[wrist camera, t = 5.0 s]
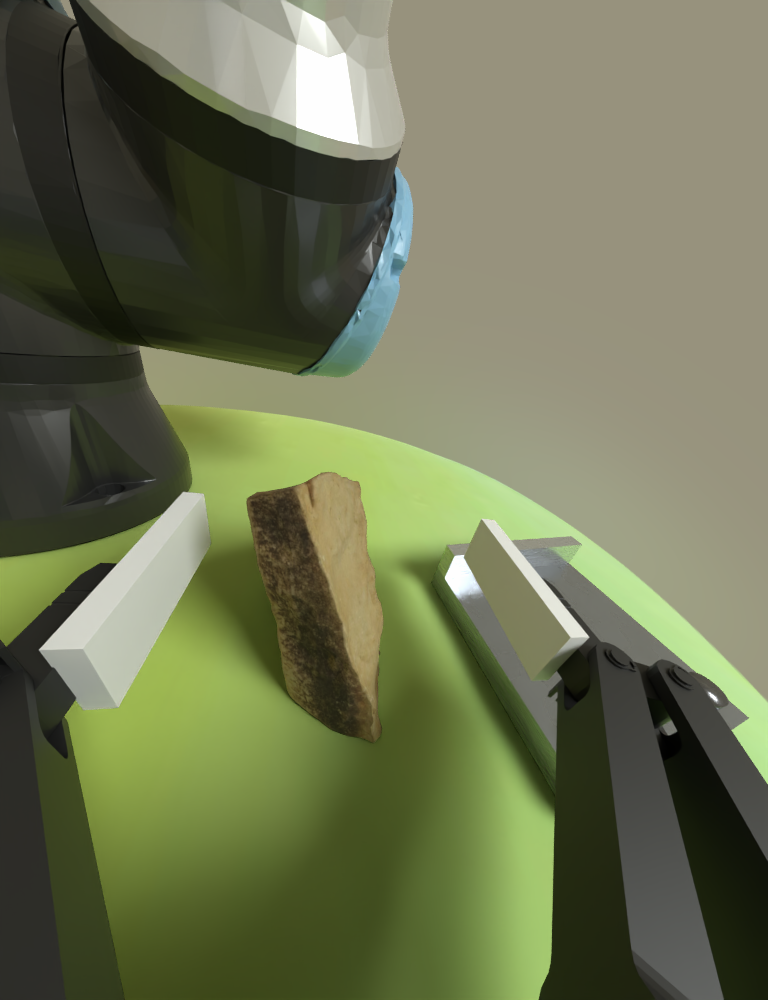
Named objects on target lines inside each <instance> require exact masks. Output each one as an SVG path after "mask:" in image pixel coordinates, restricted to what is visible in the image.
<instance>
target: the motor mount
mask: <svg viewBox="0 0 768 1000" xmlns="http://www.w3.org/2000/svg"><path fill="white" fill-rule="evenodd" d="M512 542H513V544H514V545H515V546H516V547H517V549H518V550H519V551H520V552H521V554H522V555H523V556H524V557H525V558H526V560H527V561H528V562H529V563H530V565H531V566H532V567H533V568H534V570H535V571H536V572H537V573H538V575H539V576H540V577H541V578H544V579H546V580H547V581H548V582H549V583H551V584H552V585H553V586H554V587H555V588H556V589H557V590H558V591H559V592H560V594H561V595H562V596H563V597H564V600H566V601H567V602H568V603H569V604H570V605H571V608H573V609H574V610H575V611H576V613H577V614H578V615H579V616H580V617H581V619H582V620H583V621H584V622H585V623H586V625H587V626H588V627H589V628H590V629H591V631H592V632H593V633H594V634H595V635H596V637H597V638H598V639H599V640H600V641H601V642H607V643H610V644H612V645H615V646H616V647H618V648H619V649H621V650H622V651H624V652H625V653H626V654H627V655H628V656H629V657H630V658H631V659H632V660H633V661H634V662H637V663H641V664H644V665H647V666H652V665H653V664H654V663H655V662H657V661H658V660H661V659H663V660H668V661H670V662H672V663H675V664H677V665H678V666H680V667H682V668H683V669H685V670H686V671H687V672H688V673H689V674H690V675H691V676H693V677H694V678H695V679H696V680H697V682H698V683H699V684H700V685H701V686H702V688H703V689H704V691H705V692H706V694H707V695H708V697H709V698H710V700H711V701H712V703H713V704H714V706H715V707H716V708H717V710H718V711H719V713H720V714H721V716H722V717H723V719H724V720H725V722H726V723H727V725H728V726H729V728H730V729H731V730H732V729H734V728H735V727H737V726H738V725H740V724H741V723H742V722H744V721H745V720H747V719H748V717H747V716H746V715H745V714H744V713H743V712H741V711H740V710H739V709H738V708H737V707H736V706H734V705H733V704H732V703H731V702H730V701H729V700H728V699H727V697H726V695H725V694H724V693H723V692H722V690H721V689H720V688H719V687H718V686H716V685H715V684H714V683H713V682H712V681H710V680H709V679H707V678H706V677H704V676H702V675H700V674H698V673H696V672H695V671H694V670H692V669H691V668H690V667H689V666H688V665H687V664H685V663H684V662H683V661H682V660H681V659H680V658H678V657H677V656H676V655H675V654H674V653H673V652H671V651H670V650H669V649H668V648H667V647H666V646H664V645H663V644H662V643H661V642H660V641H659V640H657V639H656V638H655V637H654V636H653V635H652V634H650V633H649V632H648V631H647V630H646V629H645V628H643V627H642V626H641V625H640V624H639V623H638V622H636V621H635V620H634V619H633V618H632V617H631V616H629V615H628V614H627V613H626V612H625V611H624V610H622V609H621V608H620V607H619V606H618V605H617V604H615V603H614V602H613V601H612V600H611V599H610V598H608V597H607V596H606V595H605V594H604V593H603V592H601V591H600V590H599V589H598V588H597V587H596V586H595V585H593V584H592V583H591V582H590V581H589V580H588V579H586V578H585V577H584V576H583V575H582V574H581V573H579V572H578V571H577V570H576V569H575V568H574V567H572V566H571V565H570V564H569V562H570V560H571V559H572V558H573V556H574V555H575V554H576V552H577V551H578V549H579V548H580V547H581V545H582V544H581V543H579V542H578V541H577V540H575V539H574V538H573V537H571V536H570V537H556V538H541V539H527V540H513V541H512ZM469 545H470V544H456V545H447V546H446V549H445V551H444V553H443V556H442V558H441V561H440V563H439V565H438V568H437V570H436V573H435V575H434V577H433V580H432V582H431V583H432V584H433V586H434V588H435V589H436V591H437V593H438V595H439V596H440V598H441V600H442V601H443V603H444V605H445V607H446V608H447V610H448V612H449V614H450V615H451V617H452V619H453V620H454V622H455V624H456V626H457V627H458V629H459V631H460V632H461V634H462V636H463V638H464V639H465V641H466V643H467V645H468V646H469V648H470V650H471V651H472V653H473V655H474V657H475V658H476V660H477V662H478V664H479V665H480V667H481V669H482V670H483V672H484V674H485V676H486V677H487V679H488V681H489V682H490V684H491V686H492V688H493V689H494V691H495V693H496V695H497V696H498V698H499V700H500V701H501V703H502V705H503V707H504V708H505V710H506V712H507V713H508V715H509V717H510V719H511V720H512V722H513V724H514V726H515V727H516V729H517V731H518V732H519V734H520V736H521V738H522V739H523V741H524V743H525V745H526V746H527V748H528V750H529V751H530V753H531V755H532V757H533V758H534V760H535V762H536V763H537V765H538V767H539V769H540V770H541V772H542V774H543V776H544V777H545V779H546V781H547V782H548V784H549V786H550V788H551V789H552V791H553V793H554V795H555V782H556V739H557V702H556V701H555V700H556V699H557V695H558V692H556V693H555V694H554V695H553V696H552V697H551V698H550V697H548V693H549V691H550V690H551V689H552V688H553V687H554V686H555V685H556V684H557V683H558V682H559V681H560V680H561V679H562V678H561V677H560V675H559V674H558V672H557V671H556V672H555V673H554V675H553V676H552V677H551V678H550V679H549V680H539V681H531V679H530V677H529V676H528V674H527V672H526V670H525V668H524V667H523V665H522V663H521V661H520V659H519V657H518V656H517V654H516V652H515V650H514V648H513V647H512V645H511V643H510V641H509V639H508V637H507V636H506V634H505V632H504V630H503V628H502V626H501V625H500V623H499V621H498V619H497V617H496V616H495V614H494V612H493V610H492V608H491V606H490V605H489V603H488V601H487V599H486V597H485V596H484V594H483V592H482V590H481V588H480V586H479V585H478V583H477V581H476V579H475V577H474V576H473V574H472V572H471V570H470V568H469V566H468V565H467V563H466V561H465V559H464V555H465V553H466V551H467V549H468V547H469ZM663 728H664V730H665V731H666V733H667V734H668V735H672V734H673V733H675V732H677V730H676V728H675V726H674V724H673V722H672V720H671V721H670V722H668V723H666V724H665V725H663Z"/></svg>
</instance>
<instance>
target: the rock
mask: <svg viewBox="0 0 768 1000" xmlns="http://www.w3.org/2000/svg"><path fill="white" fill-rule="evenodd" d="M247 510H248V516H249V520H250V523H251V530H252V535H253V540H254V548H255V551H256V555H257V563H258V567H259V571H260V573H261V576H262V580H263V584H264V586H265V590H266V594H267V596H268V598H269V601H270V603H271V610H272V613H273V615H274V617H275V620H276V623H277V637H278V644H279V648H280V652H281V663H282V670H283V674H284V678H285V682H286V687H287V692H288V693H289V695H290V697H291V698H292V699H293V700H294V701H296V702H297V703H298V704H299V705H300V706H301V707H302V708H304V709H305V710H307V711H308V712H309V713H310V714H311V715H312V716H314V717H315V718H317V719H318V720H320V721H321V722H322V723H324V724H325V725H326V726H327V727H328V728H330V729H332V730H334V731H336V732H339V733H341V734H344V735H347V736H352V737H359V738H363V739H366V740H368V741H370V742H372V743H374V742H375V741H376V740H377V739H378V738H379V737H380V735H381V731H382V727H381V724H380V720H379V717H378V676H379V655H380V651H379V646H380V638H381V634H382V630H383V614H382V607H381V603H380V601H379V599H378V597H377V592H376V589H375V570H374V567H373V566H372V564H371V561H370V558H369V555H368V552H367V537H366V534H367V520H366V516H365V512H364V507H363V504H362V501H361V488H360V485H359V482H357V481H352V480H349V479H348V478H347V477H341V476H340V475H338V474H337V473H332V472H325V473H321V474H319V475H317V476H315V477H313V478H311V479H310V480H308V481H306V482H305V483H302V484H300V485H296V486H292V487H288V488H283V489H277V490H272V491H266V492H257V493H255V494H254V495H252V496H250V497H248V499H247Z"/></svg>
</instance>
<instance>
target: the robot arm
mask: <svg viewBox="0 0 768 1000" xmlns="http://www.w3.org/2000/svg"><path fill="white" fill-rule="evenodd" d="M69 1H70V4H71V7H72V9H73V13H74V16H75V19H76V20H74V19H71V18H69V17H68V15H67V13H66V11H65V10H64V8H63V6H62V3H61V1H60V0H0V557H2V556H12V555H21V554H28V553H35V552H41V551H47V550H53V549H58V548H63V547H67V546H72V545H77V544H81V543H85V542H89V541H92V540H96V539H99V538H103V537H106V536H109V535H112V534H115V533H118V532H121V531H124V530H127V529H129V528H132V527H134V526H137V525H139V524H141V523H144V522H146V521H148V520H150V519H152V518H154V517H156V516H158V515H160V514H161V513H163V512H164V514H163V515H162V516H161V517H160V518H159V519H158V520H157V521H156V522H155V523H154V524H153V526H152V527H151V528H150V529H149V530H148V531H147V532H146V533H145V534H144V535H143V537H142V538H141V539H140V540H139V541H138V542H137V543H136V544H135V545H134V546H133V547H132V549H131V550H130V551H129V552H128V553H127V554H126V555H125V556H124V557H123V558H122V560H121V561H120V562H119V563H118V564H113V563H100V564H98V565H96V566H95V567H93V568H91V569H90V570H88V571H86V572H84V573H83V574H81V575H80V576H79V577H78V578H77V579H76V580H74V581H73V582H72V583H71V584H70V585H69V586H68V587H67V588H66V589H65V592H64V593H61V594H60V595H59V596H58V597H57V598H56V599H55V600H54V601H53V602H52V605H51V606H48V607H47V608H46V609H45V610H44V611H43V612H42V613H41V614H40V615H39V616H38V617H37V618H36V619H35V620H34V621H33V622H32V623H31V624H30V625H29V626H27V627H26V628H25V629H24V630H23V631H22V632H21V633H20V634H19V635H18V636H17V637H16V638H15V639H14V640H13V641H12V642H11V643H10V644H9V645H8V646H7V647H6V646H5V645H4V643H3V642H2V641H1V640H0V1000H125V999H124V994H123V989H122V984H121V979H120V974H119V970H118V965H117V960H116V955H115V950H114V945H113V940H112V936H111V931H110V926H109V921H108V916H107V911H106V906H105V902H104V897H103V892H102V887H101V882H100V877H99V872H98V868H97V863H96V858H95V853H94V848H93V843H92V838H91V834H90V829H89V824H88V819H87V814H86V809H85V804H84V800H83V795H82V790H81V785H80V780H79V775H78V770H77V766H76V761H75V756H74V751H73V746H72V741H71V736H70V732H69V727H68V722H67V720H66V719H65V717H64V716H65V714H66V713H67V711H68V710H69V708H70V707H71V706H72V704H73V703H74V701H75V700H76V701H77V702H78V704H79V705H80V706H81V708H82V709H83V710H92V709H108V708H118V707H119V705H120V704H121V702H122V700H123V698H124V697H125V695H126V693H127V691H128V689H129V688H130V686H131V684H132V682H133V681H134V679H135V677H136V675H137V674H138V672H139V670H140V668H141V667H142V665H143V663H144V661H145V660H146V658H147V656H148V654H149V653H150V651H151V649H152V647H153V646H154V644H155V642H156V640H157V638H158V637H159V635H160V633H161V631H162V630H163V628H164V626H165V624H166V623H167V621H168V619H169V617H170V616H171V614H172V612H173V610H174V609H175V607H176V605H177V603H178V602H179V600H180V598H181V596H182V594H183V593H184V591H185V589H186V587H187V586H188V584H189V582H190V580H191V579H192V577H193V575H194V573H195V572H196V570H197V568H198V566H199V565H200V563H201V561H202V559H203V558H204V556H205V554H206V552H207V551H208V549H209V547H210V545H211V539H210V532H209V525H208V518H207V511H206V504H205V497H204V494H201V493H190V492H188V491H189V489H190V487H191V484H192V474H191V468H190V462H189V457H188V454H187V451H186V449H185V447H184V446H183V444H182V442H181V441H180V439H179V437H178V436H177V434H176V432H175V431H174V429H173V427H172V425H171V424H170V422H169V420H168V419H167V417H166V415H165V414H164V412H163V410H162V409H161V407H160V405H159V404H158V402H157V400H156V399H155V397H154V395H153V393H152V392H151V390H150V388H149V386H148V384H147V381H146V377H145V373H144V369H143V364H142V360H141V355H140V351H139V346H145V347H151V348H156V349H164V350H169V351H175V352H180V353H185V354H191V355H196V356H202V357H207V358H212V359H218V360H224V361H229V362H234V363H239V364H245V365H251V366H256V367H261V368H267V369H272V370H277V371H283V372H288V373H292V374H294V375H300V376H307V375H319V376H329V377H344V376H348V375H350V374H352V373H353V372H355V371H357V370H358V369H359V368H360V367H361V366H362V365H363V364H364V363H365V362H366V361H367V360H368V358H369V357H370V356H371V354H372V353H373V351H374V349H375V348H376V346H377V344H378V342H379V341H380V339H381V337H382V335H383V333H384V331H385V329H386V326H387V324H388V322H389V319H390V317H391V314H392V311H393V309H394V306H395V303H396V300H397V297H398V294H399V290H400V285H399V276H400V274H401V272H402V270H403V268H404V266H405V264H406V263H407V258H408V253H409V248H410V242H411V236H412V226H413V203H412V198H411V193H410V189H409V186H408V183H407V181H406V180H405V178H404V177H403V176H402V174H401V172H400V170H399V168H397V167H396V164H397V161H398V157H399V153H400V149H401V146H402V141H403V137H404V133H405V122H404V117H403V113H402V109H401V105H400V100H399V96H398V92H397V88H396V83H395V79H394V75H393V70H392V66H391V62H390V58H389V48H388V31H387V30H388V24H389V19H390V14H391V8H392V3H393V0H69ZM464 559H465V561H466V563H467V565H468V566H469V568H470V570H471V572H472V574H473V576H474V577H475V579H476V581H477V583H478V585H479V586H480V588H481V590H482V592H483V594H484V596H485V597H486V599H487V601H488V603H489V605H490V606H491V608H492V610H493V612H494V614H495V616H496V617H497V619H498V621H499V623H500V625H501V626H502V628H503V630H504V632H505V634H506V636H507V637H508V639H509V641H510V643H511V645H512V647H513V648H514V650H515V652H516V654H517V656H518V657H519V659H520V661H521V663H522V665H523V667H524V668H525V670H526V672H527V674H528V676H529V677H530V679H531V681H539V680H549V679H550V678H551V677H552V676H553V675H554V673H555V672H556V671H557V672H558V674H559V675H560V677H561V678H562V679H561V680H560V681H559V682H558V683H557V684H556V685H555V686H554V687H553V688H552V689H551V690H550V691H549V693H548V697H550V698H551V697H552V696H553V695H554V694H555V693H556V692H558V695H557V699H556V700H555V701H556V702H557V739H556V782H555V826H554V870H553V914H552V954H551V964H550V969H549V973H548V975H547V977H546V979H545V981H544V983H543V986H542V988H541V992H540V996H539V1000H768V784H767V783H766V781H765V780H764V778H763V777H762V775H761V774H760V772H759V771H758V769H757V768H756V766H755V765H754V763H753V762H752V761H751V759H750V758H749V756H748V755H747V753H746V752H745V750H744V749H743V747H742V746H741V744H740V743H739V741H738V740H737V738H736V737H735V735H734V734H733V732H732V731H731V729H730V728H729V726H728V725H727V723H726V722H725V720H724V719H723V717H722V716H721V714H720V713H719V711H718V710H717V708H716V707H715V706H714V704H713V703H712V701H711V700H710V698H709V697H708V695H707V694H706V692H705V691H704V689H703V688H702V686H701V685H700V684H699V683H698V682H697V680H696V679H695V678H694V677H693V676H691V675H690V674H689V673H688V672H687V671H686V670H685V669H683V668H682V667H680V666H678V665H677V664H675V663H672V662H670V661H668V660H663V659H661V660H658V661H657V662H655V663H654V664H653V665H652V666H647V665H644V664H641V663H637V662H634V661H633V660H632V659H631V658H630V657H629V656H628V655H627V654H626V653H625V652H624V651H622V650H621V649H619V648H618V647H616V646H615V645H612V644H610V643H607V642H601V641H600V640H599V639H598V638H597V637H596V635H595V634H594V633H593V632H592V631H591V629H590V628H589V627H588V626H587V625H586V623H585V622H584V621H583V620H582V619H581V617H580V616H579V615H578V614H577V613H576V611H575V610H574V609H573V608H571V605H570V604H569V603H568V602H567V601H566V600H564V597H563V596H562V595H561V594H560V592H559V591H558V590H557V589H556V588H555V587H554V586H553V585H552V584H551V583H549V582H548V581H547V580H546V579H544V578H541V577H540V576H539V575H538V573H537V572H536V571H535V570H534V568H533V567H532V566H531V565H530V563H529V562H528V561H527V560H526V558H525V557H524V556H523V555H522V554H521V552H520V551H519V550H518V549H517V547H516V546H515V545H514V544H513V542H512V541H511V540H510V539H509V538H508V536H507V535H506V534H505V533H504V531H503V530H502V529H501V528H500V526H499V525H498V524H497V523H496V522H495V520H488V519H481V521H480V523H479V525H478V528H477V530H476V532H475V534H474V536H473V538H472V540H471V543H470V545H469V547H468V549H467V551H466V553H465V555H464ZM671 720H672V722H673V724H674V726H675V728H676V730H677V732H675V733H673V734H672V735H668V734H667V733H666V731H665V730H664V728H663V725H665V724H666V723H668V722H670V721H671Z"/></svg>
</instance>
